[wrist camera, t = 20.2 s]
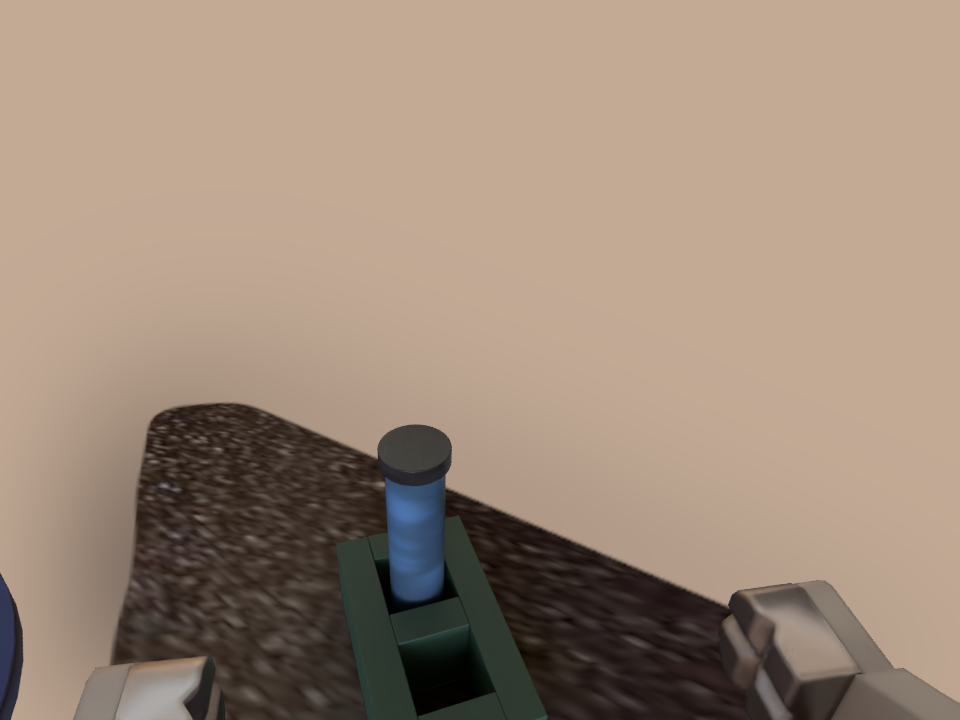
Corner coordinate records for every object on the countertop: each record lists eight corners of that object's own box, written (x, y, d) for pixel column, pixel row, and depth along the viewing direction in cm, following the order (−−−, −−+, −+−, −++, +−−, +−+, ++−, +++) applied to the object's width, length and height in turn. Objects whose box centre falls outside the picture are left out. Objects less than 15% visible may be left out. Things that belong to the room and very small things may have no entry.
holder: (389, 822, 33) (386, 770, 31) (341, 596, 44) (335, 543, 42) (539, 768, 36) (548, 715, 33) (457, 566, 47) (459, 514, 44)
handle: (396, 665, 40) (386, 478, 32) (382, 614, 43) (370, 431, 35) (455, 647, 42) (461, 462, 34) (438, 598, 45) (439, 418, 37)
